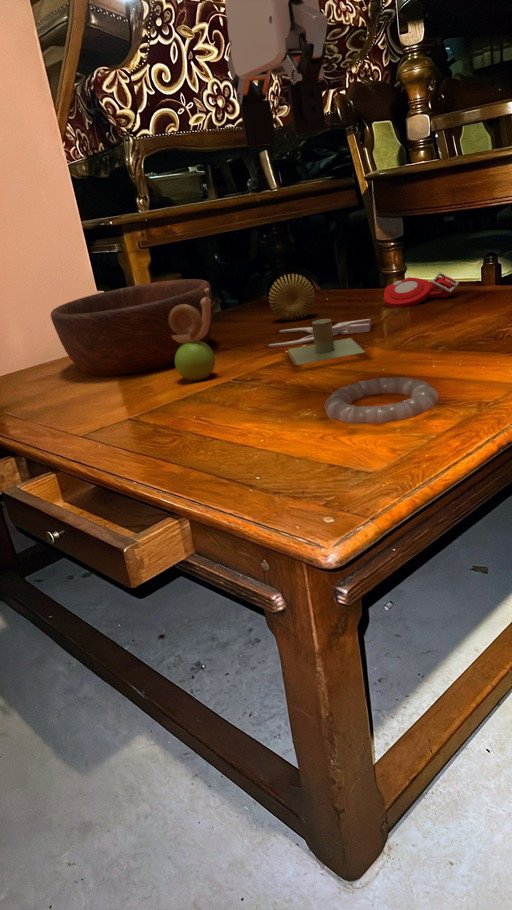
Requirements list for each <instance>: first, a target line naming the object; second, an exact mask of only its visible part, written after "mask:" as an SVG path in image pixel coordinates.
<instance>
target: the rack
mask: <svg viewBox="0 0 512 910" xmlns="http://www.w3.org/2000/svg"><path fill="white" fill-rule="evenodd" d="M332 323H333V322H332V319H331V318H321V319H316V320H313V321H312V322H311V327H312V328H313V333H312V335H313V336H314V341H313V343H314V344H308V345H304V346H299V347H294V348H288V349H287V353H288V357H289V359H290V360H291V362H292V364H293V365H294V366H298V365H299V366H300V365H305V364H310V363H315V362H321V361H326V360H332V359H337V358H338V359H339V358H342V357H348V356H354V355H361V354H365V353H366V351H365V350H364V349H363V348H362V346H360V345H359V344H358V343H357V342H356V341H354V340H353V338H351V337H347V338H342V339H338V340H335V339H334V336H333V330H332V327H333V324H332Z"/></svg>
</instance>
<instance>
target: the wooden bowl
mask: <svg viewBox="0 0 512 910" xmlns="http://www.w3.org/2000/svg"><path fill="white" fill-rule="evenodd" d="M206 288H209V292H208V293H209V299H210V300H211V307H210V311H211V316H210V326H209V330H208V332H207V334H206V335H205V336H204V337H203V338H202V339H200V340H199V341H201V342H203V343H205V344H207V345H208V341H209V339H210V335H211V332H212V324H213V304H212V303H213V301H212V289H211V284H210V282H209V281H207V280H205V279H197V278H188V279H187V278H186V279H185V278H184V279H183V278H182V279H171V280H164V281H156V282H148V283H142V284H137V285H131V286H126V287H121V288H116V289H112V290H107V291H102V292H99V293H95V294H91V295H86V296H84V297H80V298H77V299H74V300H71V301H68V302H65V303H63V304H61V305H59V306H57V307H54V308H53V309H52V310H51V312H50V319H51V322H52V325H53V327H54V329H55V332H56V334H57V336H58V339H59V341H60V343H61V345H62V347H63V349H64V351H65V353H66V354H67V356H68V357H69V359H70V360H71V361H72V362H73V364H74V366H76V367H77V368H78V369H79V370H80V371H81V372H83V373H85V374H86V375H89V376H94V377H120V376H128V375H129V376H130V375H136V374H142V373H146V372H151V371H155V370H160V369H164V368H167V367H171V366H175V355H176V352H177V350H178V349H179V348H180V346H182V345H183V344H182V343H179V342H177V341H175V340H174V339H173V338H172V335H178V334H177V333H175V332H174V331H173V330H172V329H171V327H170V325H169V314H170V312H171V310H172V309H173V308H174V307H175V306H177V305H180V304H187V305H191V306H193V307H194V308H195V309H197V310H198V312H199V313H200V315H201V318H202V306H201V300H202V298H204V297H207V295H208V293H205V292H204V290H205V289H206Z"/></svg>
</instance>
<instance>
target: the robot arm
mask: <svg viewBox="0 0 512 910" xmlns="http://www.w3.org/2000/svg"><path fill="white" fill-rule="evenodd" d="M224 5H225V14H226V15H225V18H226V27H227V35H228V42H229V48H230V49H229V51H230V55H229V57H228V59H227V68H228V71H229V74H230V76H231V79H232V87H233V89H234V91H235V92H236V101H237V104H238V105H239V109H240V114H241V115H240V116H241V122H242V123H241V124H242V128H243V129H242V130H243V134H244V143H245V146H246V147H248V148H251V147H257V146H264V145H271V144H274V143H275V141H276V135H275V128H274V121H273V113H272V106H271V105H272V103H271V99H268V100H266V98H267V92H268V89H269V83H270V78H271V75H273V76H275V77H278V76H284V75H287V76H288V77H289V80H290V81H291V83H292V84H289V85H287V93H288V94H287V95H288V101H289V110H290V111H289V112H290V119H291V127H292V132H293V135H297V136H298V135H303V134H304V135H305V134H311V133H312V134H313V133H319V132H323V131H324V130H326V126H327V125H326V116H325V106H324V95H323V86H322V81H323V80H324V77H325V70H324V67H323V64H324V60H325V57H326V53H327V48H326V45H325V44H326V39H327V38H326V37H327V31H328V16H327V15H326V14H325V13H322V12H321V11H320V3H319V0H224ZM256 81H257V84H256V83H255V82H256Z"/></svg>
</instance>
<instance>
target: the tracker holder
mask: <svg viewBox="0 0 512 910" xmlns="http://www.w3.org/2000/svg"><path fill="white" fill-rule="evenodd" d="M459 284H460V281H458V280H456V279H455V278H452V277H450V276H448V275H446V274H445V273H442V272H440V271H439V272H438V273H437V274H436V276H435V277H434V278H433V280H432V281H429V280H427V279H425V278H419V277H409V276H408V277H406V278H405V277H404V278H403V279H401V280H396V281H394V282H393V283H392V284H388V285H387V286H386V287H385V289H384V293H383V303H384V305H385V306H386V307H388V308H407V307H413V306H415V305H418V304H419V303H422V302H423V301H424V300H426V299H444V298H448V297H449V296H450V295H451V294H452V293H453V292H454V290H455V289H456V288H457V287H458V286H459ZM439 289H441V290H442V291H434V290H439Z"/></svg>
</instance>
